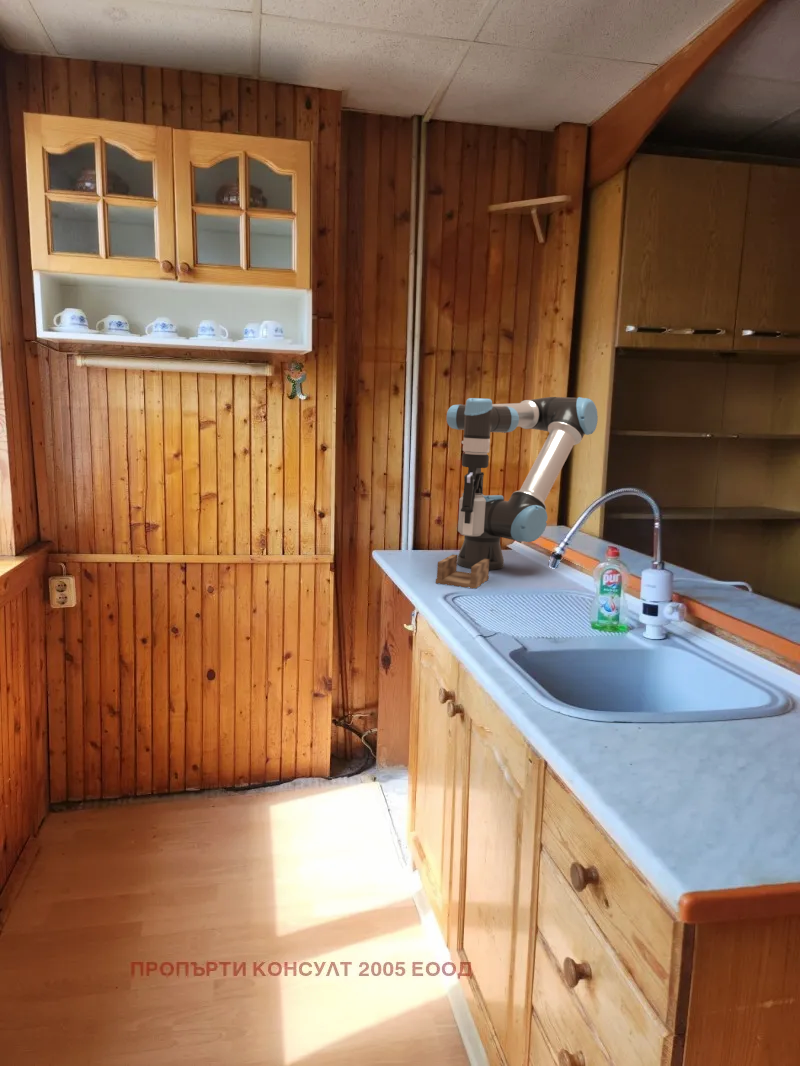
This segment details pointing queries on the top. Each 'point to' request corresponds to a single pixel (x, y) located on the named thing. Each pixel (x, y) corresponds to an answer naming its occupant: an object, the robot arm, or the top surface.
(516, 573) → the top surface
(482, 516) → the can
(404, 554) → the top surface
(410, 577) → the top surface
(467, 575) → the rack
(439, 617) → the top surface
